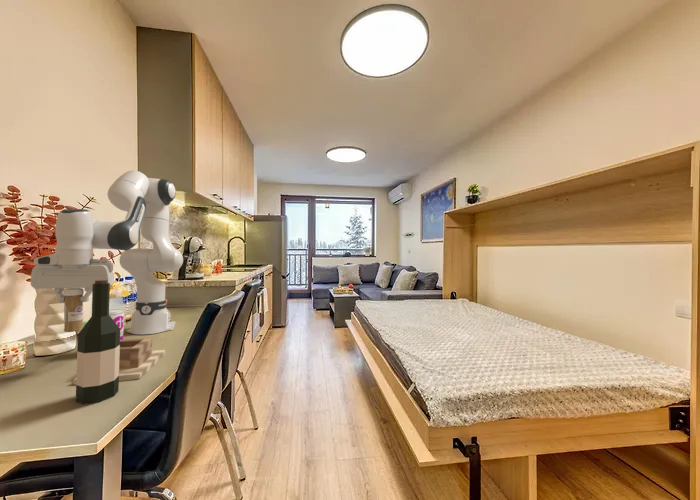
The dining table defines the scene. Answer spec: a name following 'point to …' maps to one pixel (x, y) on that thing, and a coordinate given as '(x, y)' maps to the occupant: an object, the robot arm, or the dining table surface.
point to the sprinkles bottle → (73, 310)
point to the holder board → (138, 370)
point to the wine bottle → (98, 351)
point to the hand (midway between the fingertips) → (73, 301)
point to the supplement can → (118, 319)
